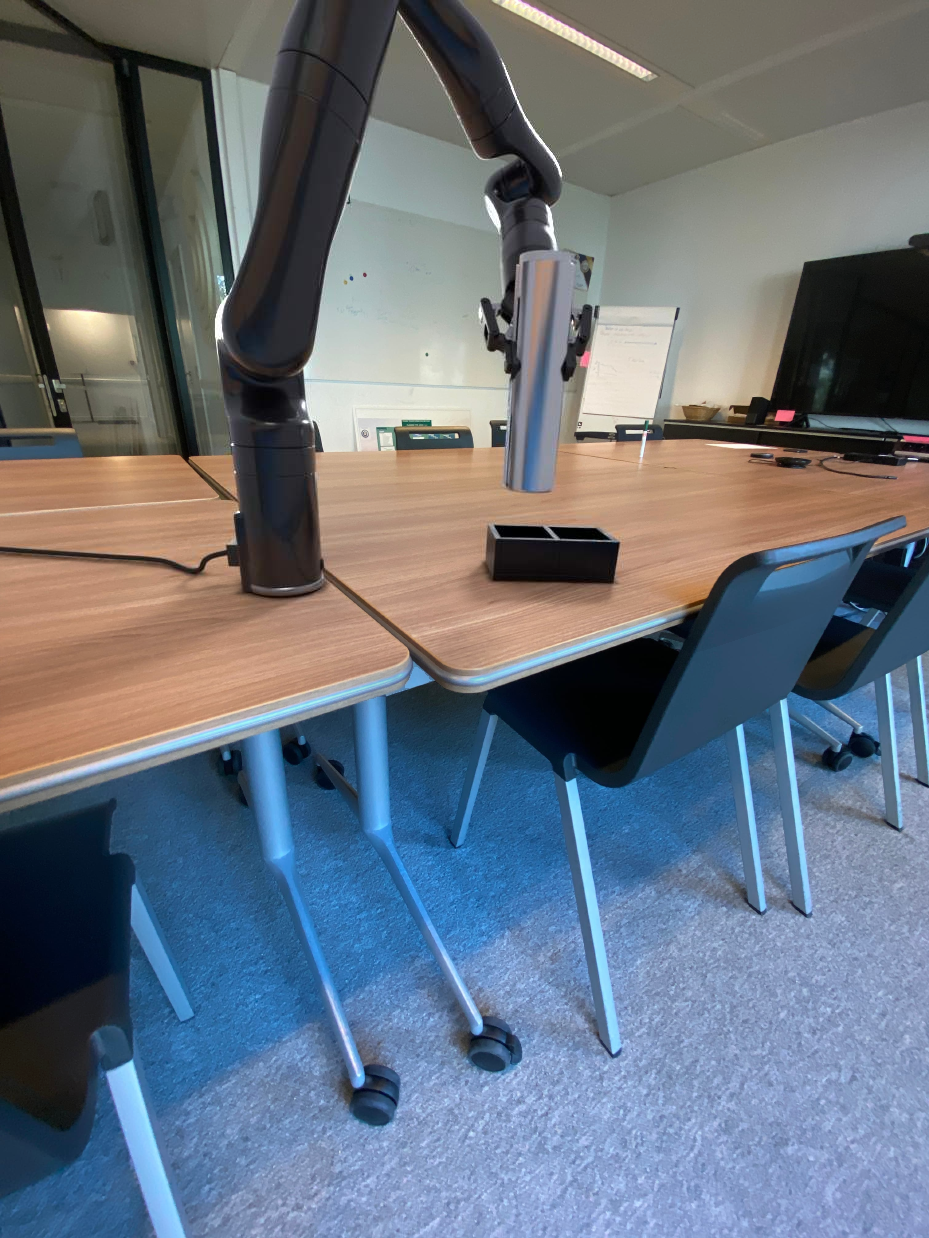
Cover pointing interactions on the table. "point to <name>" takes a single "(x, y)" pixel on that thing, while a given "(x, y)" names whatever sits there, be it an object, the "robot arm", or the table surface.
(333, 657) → the table surface
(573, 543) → the open box with compartments
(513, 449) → the metallic silver cylinder
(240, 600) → the table surface
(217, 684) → the table surface
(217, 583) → the table surface
